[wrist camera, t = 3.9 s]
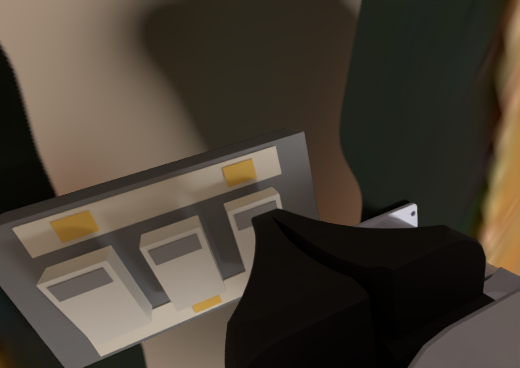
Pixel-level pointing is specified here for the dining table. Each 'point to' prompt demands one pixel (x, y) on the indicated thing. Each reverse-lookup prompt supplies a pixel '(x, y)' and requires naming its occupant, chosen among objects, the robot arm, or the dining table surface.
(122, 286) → the switch
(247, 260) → the switch
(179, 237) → the switch
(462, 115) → the dining table surface
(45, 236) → the switch unit
